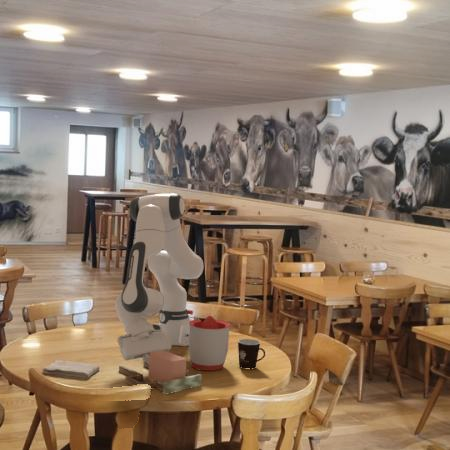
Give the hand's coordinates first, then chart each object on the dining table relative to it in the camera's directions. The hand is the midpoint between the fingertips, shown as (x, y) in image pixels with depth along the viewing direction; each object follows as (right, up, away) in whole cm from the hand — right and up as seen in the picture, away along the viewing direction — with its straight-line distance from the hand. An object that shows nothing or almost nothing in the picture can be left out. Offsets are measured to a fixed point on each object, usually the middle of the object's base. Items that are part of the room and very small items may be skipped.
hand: (154, 365), depth 244 cm
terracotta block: (+5, -5, -5) cm, 8 cm away
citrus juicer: (+18, -4, +18) cm, 26 cm away
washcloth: (-30, -3, +2) cm, 30 cm away
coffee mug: (+35, -5, +18) cm, 39 cm away
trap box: (+1, -4, -1) cm, 4 cm away
